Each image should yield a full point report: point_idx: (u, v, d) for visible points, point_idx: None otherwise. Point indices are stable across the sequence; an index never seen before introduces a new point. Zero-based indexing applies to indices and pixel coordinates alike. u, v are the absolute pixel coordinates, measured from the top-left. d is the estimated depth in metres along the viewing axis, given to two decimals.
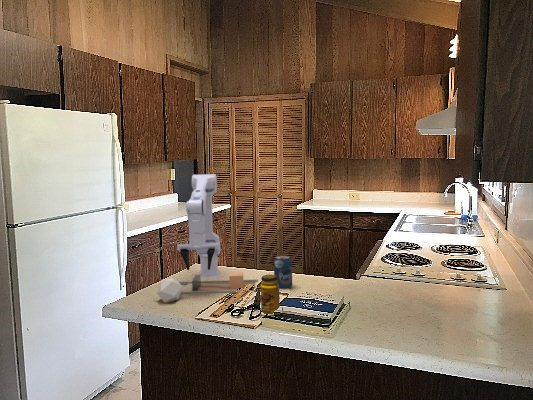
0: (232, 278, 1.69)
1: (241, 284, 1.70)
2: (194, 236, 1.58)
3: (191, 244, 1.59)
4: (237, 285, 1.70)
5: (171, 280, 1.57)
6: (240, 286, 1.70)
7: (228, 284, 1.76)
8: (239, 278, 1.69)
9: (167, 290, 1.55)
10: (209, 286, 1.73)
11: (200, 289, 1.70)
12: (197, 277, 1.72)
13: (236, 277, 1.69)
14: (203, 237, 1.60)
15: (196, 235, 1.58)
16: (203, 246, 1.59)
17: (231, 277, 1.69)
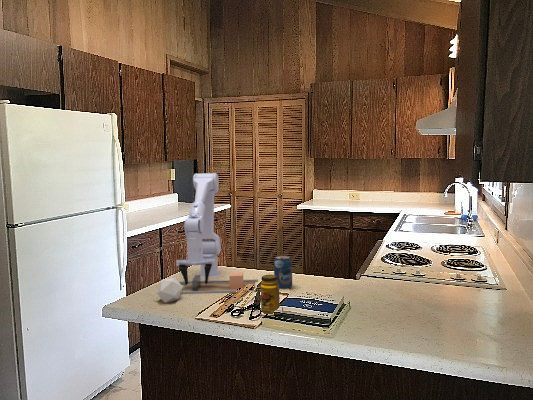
0: (232, 278, 1.69)
1: (241, 284, 1.70)
2: (192, 253, 1.68)
3: (189, 260, 1.69)
4: (237, 285, 1.70)
5: (171, 280, 1.57)
6: (240, 286, 1.70)
7: (228, 284, 1.76)
8: (239, 278, 1.69)
9: (167, 290, 1.55)
10: (209, 286, 1.73)
11: (200, 289, 1.70)
12: (197, 277, 1.72)
13: (236, 277, 1.69)
14: (201, 253, 1.70)
15: (194, 252, 1.68)
16: (201, 262, 1.69)
17: (231, 277, 1.69)
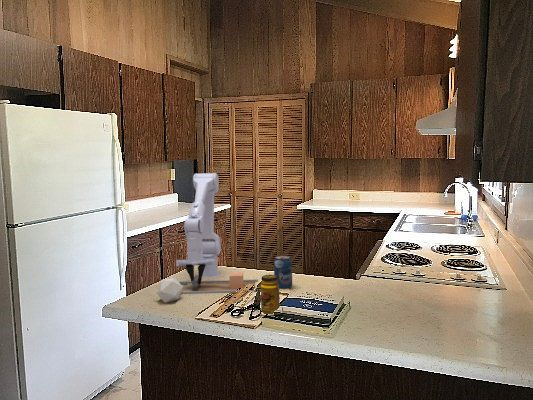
0: (232, 278, 1.69)
1: (241, 284, 1.70)
2: (192, 253, 1.68)
3: (189, 260, 1.69)
4: (237, 285, 1.70)
5: (171, 280, 1.57)
6: (240, 286, 1.70)
7: (228, 284, 1.76)
8: (239, 278, 1.69)
9: (167, 290, 1.55)
10: (209, 286, 1.73)
11: (200, 289, 1.70)
12: (197, 277, 1.72)
13: (236, 277, 1.69)
14: (201, 253, 1.70)
15: (194, 252, 1.68)
16: (201, 262, 1.69)
17: (231, 277, 1.69)
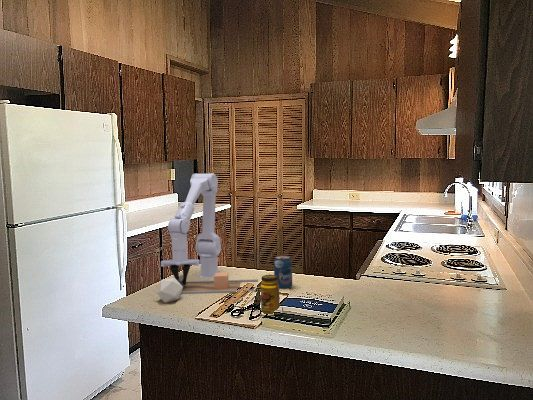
0: (217, 278, 1.69)
1: (226, 284, 1.70)
2: (177, 253, 1.68)
3: (174, 260, 1.69)
4: (222, 285, 1.70)
5: (171, 280, 1.57)
6: (225, 286, 1.70)
7: (213, 284, 1.76)
8: (224, 278, 1.69)
9: (167, 290, 1.55)
10: (194, 286, 1.73)
11: (185, 289, 1.70)
12: (182, 277, 1.72)
13: (221, 277, 1.69)
14: (185, 254, 1.70)
15: (178, 252, 1.68)
16: (185, 262, 1.69)
17: (216, 277, 1.69)
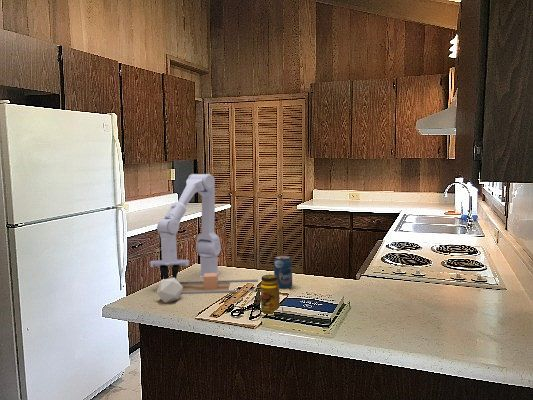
0: (206, 279, 1.69)
1: (215, 285, 1.70)
2: (166, 253, 1.68)
3: (163, 261, 1.69)
4: (211, 286, 1.70)
5: (171, 280, 1.57)
6: (214, 287, 1.70)
7: (203, 285, 1.76)
8: (213, 279, 1.69)
9: (167, 290, 1.55)
10: (183, 287, 1.74)
11: None
12: None
13: (210, 277, 1.69)
14: (174, 254, 1.70)
15: (168, 252, 1.68)
16: (174, 263, 1.69)
17: (205, 278, 1.69)
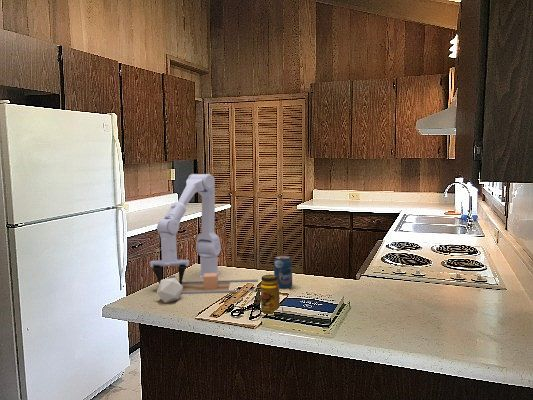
0: (206, 279, 1.69)
1: (215, 285, 1.70)
2: (166, 253, 1.68)
3: (163, 261, 1.69)
4: (211, 286, 1.70)
5: (171, 280, 1.57)
6: (214, 287, 1.70)
7: (203, 285, 1.76)
8: (213, 279, 1.69)
9: (167, 290, 1.55)
10: (183, 287, 1.74)
11: None
12: None
13: (210, 277, 1.69)
14: (174, 254, 1.70)
15: (168, 252, 1.68)
16: (174, 263, 1.69)
17: (205, 278, 1.69)
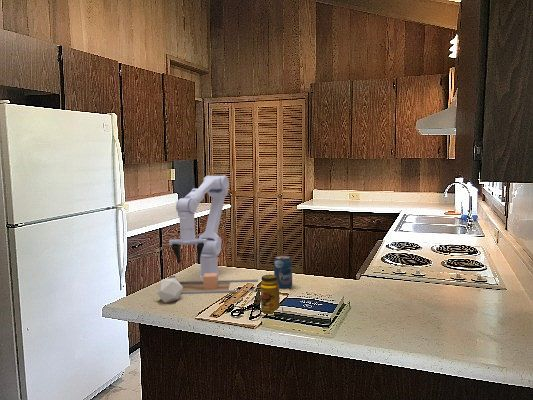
0: (206, 279, 1.69)
1: (215, 285, 1.70)
2: (184, 232, 1.72)
3: (182, 239, 1.73)
4: (211, 286, 1.70)
5: (171, 280, 1.57)
6: (214, 287, 1.70)
7: (203, 285, 1.76)
8: (213, 279, 1.69)
9: (167, 290, 1.55)
10: (183, 287, 1.74)
11: None
12: None
13: (210, 277, 1.69)
14: (193, 233, 1.74)
15: (186, 231, 1.72)
16: (193, 241, 1.73)
17: (205, 278, 1.69)
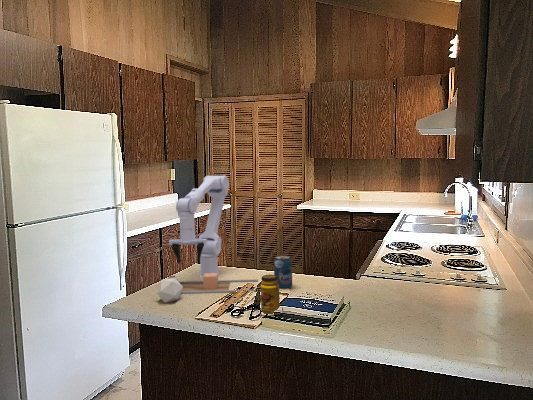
0: (206, 279, 1.69)
1: (215, 285, 1.70)
2: (184, 232, 1.72)
3: (182, 239, 1.73)
4: (211, 286, 1.70)
5: (171, 280, 1.57)
6: (214, 287, 1.70)
7: (203, 285, 1.76)
8: (213, 279, 1.69)
9: (167, 290, 1.55)
10: (183, 287, 1.74)
11: None
12: None
13: (210, 277, 1.69)
14: (193, 233, 1.74)
15: (186, 231, 1.72)
16: (193, 241, 1.73)
17: (205, 278, 1.69)
